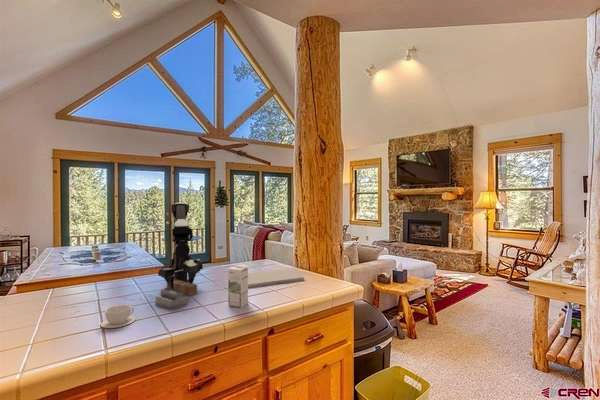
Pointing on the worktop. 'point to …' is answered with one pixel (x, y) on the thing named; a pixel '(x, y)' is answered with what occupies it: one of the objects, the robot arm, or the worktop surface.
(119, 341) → the worktop surface
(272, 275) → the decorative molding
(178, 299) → the ridge block
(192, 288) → the walnut bar
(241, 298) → the syrup box
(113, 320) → the teacup
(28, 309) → the worktop surface
